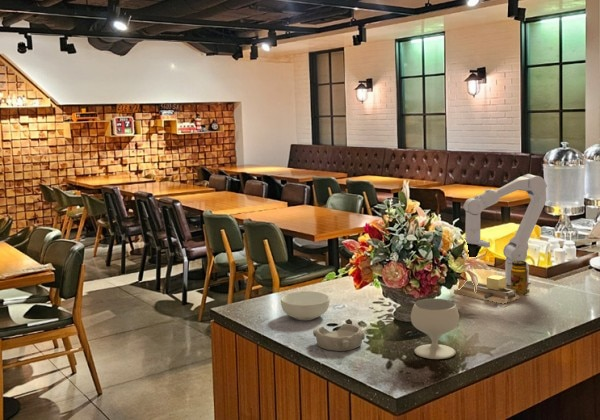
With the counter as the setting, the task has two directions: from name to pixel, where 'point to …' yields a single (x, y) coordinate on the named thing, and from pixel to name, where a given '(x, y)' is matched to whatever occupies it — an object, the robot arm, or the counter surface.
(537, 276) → the counter surface
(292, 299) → the cereal bowl
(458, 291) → the wooden tray
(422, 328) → the chalice
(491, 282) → the pale yellow cube
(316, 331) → the dish
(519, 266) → the condiment
